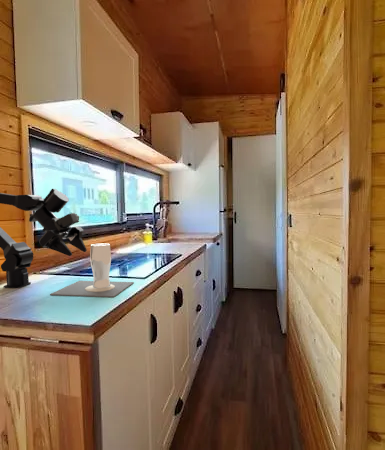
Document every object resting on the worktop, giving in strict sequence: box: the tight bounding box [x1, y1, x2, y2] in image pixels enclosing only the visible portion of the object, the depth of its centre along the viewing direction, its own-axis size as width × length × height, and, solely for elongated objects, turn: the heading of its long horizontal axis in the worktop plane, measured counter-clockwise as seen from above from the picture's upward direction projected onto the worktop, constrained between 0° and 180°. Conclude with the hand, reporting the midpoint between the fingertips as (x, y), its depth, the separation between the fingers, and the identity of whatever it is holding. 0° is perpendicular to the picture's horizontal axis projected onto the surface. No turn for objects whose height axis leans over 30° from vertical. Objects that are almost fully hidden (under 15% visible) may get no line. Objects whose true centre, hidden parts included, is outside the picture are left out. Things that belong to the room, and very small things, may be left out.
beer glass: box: [89, 242, 112, 289], centre depth 106 cm, size 7×7×15 cm
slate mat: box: [49, 280, 134, 298], centre depth 106 cm, size 22×18×1 cm
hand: (78, 253), depth 107 cm, fingers open, 9 cm apart
